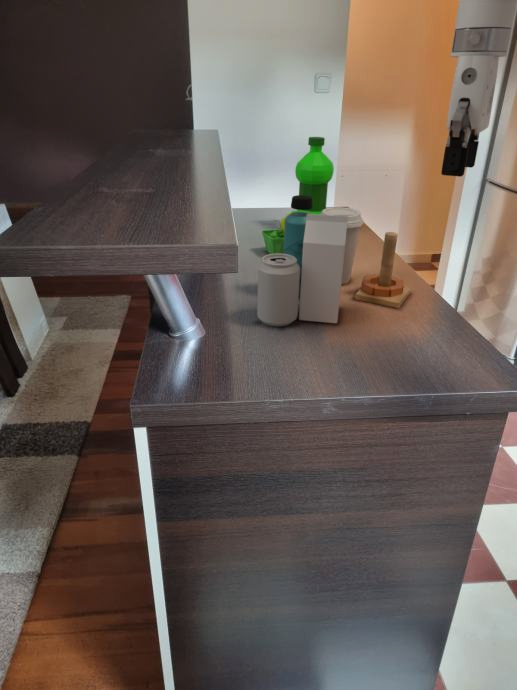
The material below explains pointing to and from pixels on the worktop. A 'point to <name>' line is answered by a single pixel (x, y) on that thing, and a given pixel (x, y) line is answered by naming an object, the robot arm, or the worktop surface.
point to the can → (278, 289)
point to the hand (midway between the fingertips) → (458, 170)
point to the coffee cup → (348, 236)
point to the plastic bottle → (315, 175)
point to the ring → (391, 291)
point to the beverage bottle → (296, 229)
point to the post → (386, 276)
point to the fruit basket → (275, 238)
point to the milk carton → (322, 267)
